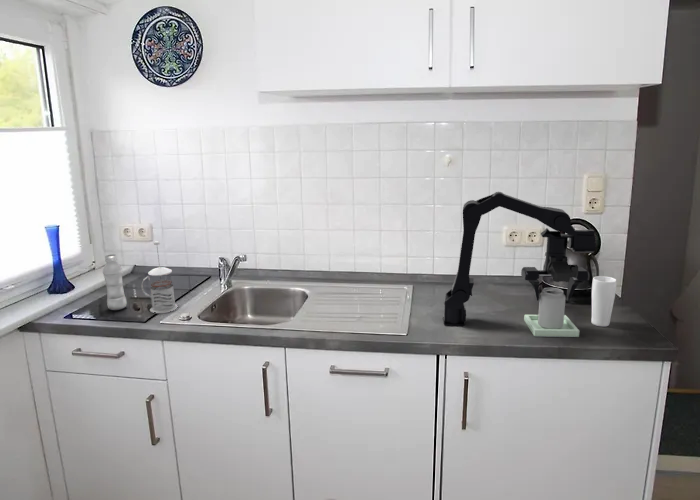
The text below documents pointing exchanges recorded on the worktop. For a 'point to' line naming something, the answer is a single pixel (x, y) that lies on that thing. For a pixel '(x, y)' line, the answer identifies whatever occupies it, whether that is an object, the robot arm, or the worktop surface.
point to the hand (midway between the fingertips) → (552, 300)
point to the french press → (161, 290)
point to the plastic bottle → (114, 283)
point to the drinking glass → (602, 300)
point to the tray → (537, 330)
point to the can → (551, 308)
